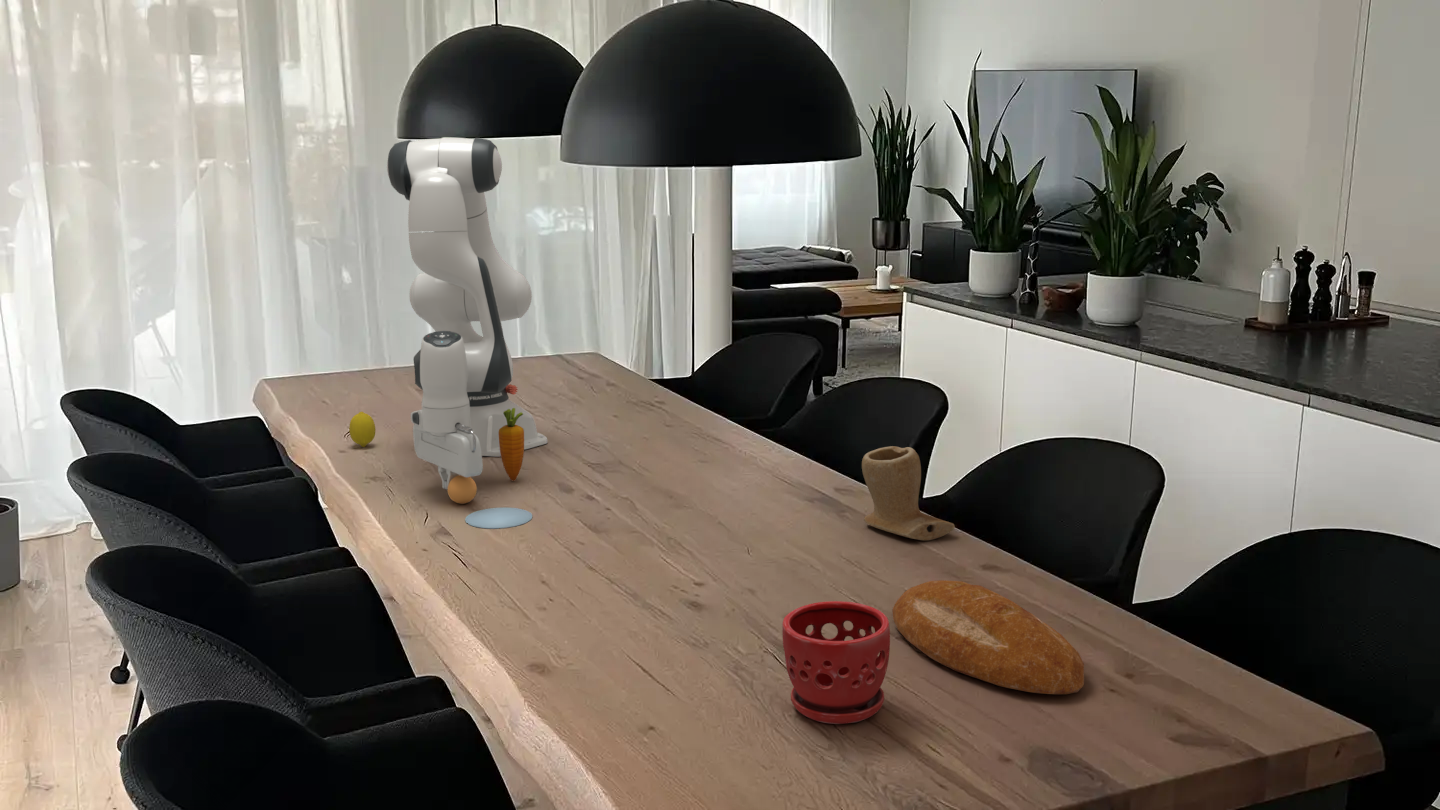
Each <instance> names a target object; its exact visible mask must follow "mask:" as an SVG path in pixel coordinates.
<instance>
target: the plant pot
mask: <svg viewBox="0 0 1440 810" xmlns="http://www.w3.org/2000/svg"><path fill="white" fill-rule="evenodd" d="M845 622H850V623H851V625H852V629H847V628H846V627H845ZM827 624H831V625H834V626H835V628H836V629H837V633H836V635H835V636H834V637H832V638H827V637H825V636H824V635H823V634H822V630H823V628H824V626H825V625H827ZM781 625H782V626H781V627H782V634H781V635H782V646H783V651H784V657H785V666H786V671H787V674H788V678H789V680H790V682H791V684H792V687H793V688H792V689H791V692H790V701H791V703H792V705H793V706H794V708H795V709H796V710H797V711H798V712H799V713H800V714H802V715H803V716H805V717H807V718H809V719H811V720H813V721H817V722H820V723H823V724H832V725H833V724H835V725H843V724H845V725H846V724H851V723H853V724H855V723H860V722H861V721H863V720H867V719H868V718H870V717H872V716H874V715H875V714H876V713H877V712H879V710H880V709H881V708H882V707H883V706H884V705H883V704H884V702H885V692H884V690H883V689H882V687H881V686H882V684H883V682H884V680H885V677H886V673H887V670H888V665H889V658H890V649H891V630H890V629H891V628H890V622H889V619H888V617H887V615H885V614H884V613H883V611H881V610H879V609H877V608H875V607H872V606H870V605H867V604H863V603H860V602H859V603H858V602H852V601H842V600H841V601H839V600H838V601H837V600H836V601H834V600H831V601H820V602H812V603H809V604H805V605H802V606H800V607H798V608H795V609H793V610H792V611H790V612H788V614H786V615H785V616H784V618H783V620H782V624H781ZM809 626H812V631H811V632H810V633H807V628H808V627H809ZM872 628H873V630H874V632H873V631H872ZM860 630H863V632H864V633H865V634H864V635H862V634H861V633H860ZM847 637H851V638H852V639H849V640H845V639H846V638H847Z"/></svg>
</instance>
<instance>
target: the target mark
mask: <svg viewBox="0 0 1440 810" xmlns="http://www.w3.org/2000/svg"><path fill="white" fill-rule="evenodd" d="M532 519H533V513H532V512H531V511H529V510H526V509H523V508H522V509H521V508H517V507H502V506H501V507H493V508H490V507H489V508H483V509H481V510H477V511H474V512H471V513H469V514H468V515H467V516H466V517H465V519H464V521H465V523H466V524H467V523H468V524H467V525H469V526H470V527H475V528H478V529H487V530H489V529H490V530H491V529H493V530H497V529H499V528H500V529H509V528H514V527H518V526H523V525H525V524H526V523H528V522H530V521H531V520H532Z"/></svg>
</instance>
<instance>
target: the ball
mask: <svg viewBox="0 0 1440 810" xmlns="http://www.w3.org/2000/svg"><path fill="white" fill-rule="evenodd" d="M477 491H478V487H477V483H476V482H475V480H474V479H473V478H472V477H464V476H461V475H459V476H456V477H454V478H453V479H452V480H451V481H450V482H449V485H448V490H447V494H448V496H449V498H450V500H451V501H453V502H454V503H456V504H459V505H460V504H462V505H463V504H464V505H465V504H467V503H470V502H472V500H474V498H475V497H476V495H477Z"/></svg>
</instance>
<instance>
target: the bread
mask: <svg viewBox="0 0 1440 810" xmlns="http://www.w3.org/2000/svg"><path fill="white" fill-rule="evenodd" d="M891 611H892V619H893V622H894V624H895V626H896V629H897V630H898V632H899V633H900V634H901V635H902V636H903V637H904V638H905V640H907V642H909V643H910V644H911V645H912V646H914V647H915V648H916V649H917V650H918V651H921V652H922V653H923V654H924V655H926V656H927V657H929V658H930V659H932V660H934V661H935V662H937V663H939V664H940V665H943V666H945V667H947V668H948V669H951V670H953V671H955V672H958V673H960V674H964V675H967V676H969V677H972V678H975V679H978V680H980V681H983V682H986V683H989V684H993V685H996V686H998V687H1003V688H1006V689H1012V690H1016V691H1017V690H1018V691H1022V692H1025V693H1026V692H1027V693H1031V694H1033V693H1034V694H1042V695H1043V694H1045V695H1046V694H1047V695H1069V694H1074V693H1078V692H1079V691H1080V690H1081V689H1082V688H1083V687H1084V684H1085V663H1084V661H1083V659H1082V656H1081V655H1080V653H1079V652H1078V651H1077V649H1076V648H1074V646H1073V645H1072V644H1071V643H1070V642H1069V640H1067V639H1066V638H1065V637H1064V636H1063V634H1061V633H1060V632H1058V631H1057V630H1055V629H1054V628H1053V627H1051V626H1050V625H1048V624H1047V623H1046V622H1044V621H1043V620H1041V619H1040V618H1039V617H1038V616H1036V615H1034V614H1033V613H1031V612H1029V611H1028V610H1026V609H1025V608H1024V607H1021V605H1019V604H1017V603H1015V602H1014V601H1012V600H1011V599H1008V598H1007V597H1005V596H1003V595H1001V594H1000V593H997V592H995V591H993V590H991V589H988V588H987V587H984V586H982V585H980V584H979V585H978V584H972V583H968V582H965V581H962V580H961V581H960V580H944V579H943V580H942V579H941V580H940V579H939V580H930V581H926V582H923V583H920V584H917V585H915V586H912V587H910V588H908V589H907V590H905V591H904V592H903V593H902V594H901V595H900V597H899V598H897V600H896V601H895V603H894V605H893V607H892V609H891Z"/></svg>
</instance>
